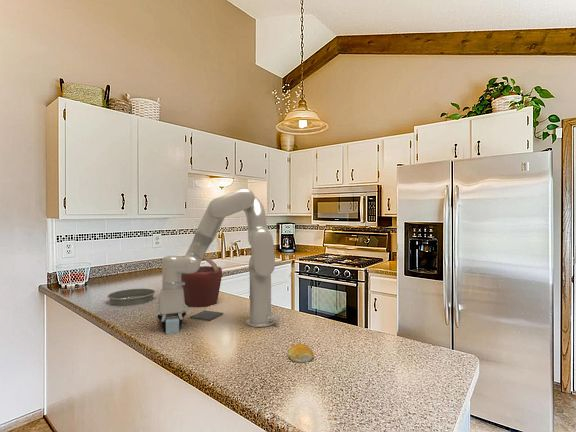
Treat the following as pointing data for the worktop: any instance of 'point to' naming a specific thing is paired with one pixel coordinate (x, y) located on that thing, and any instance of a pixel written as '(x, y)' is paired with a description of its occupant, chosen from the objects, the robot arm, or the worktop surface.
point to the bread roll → (300, 353)
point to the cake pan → (131, 297)
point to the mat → (206, 315)
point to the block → (172, 325)
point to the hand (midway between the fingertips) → (171, 328)
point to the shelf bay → (168, 316)
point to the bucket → (202, 285)
